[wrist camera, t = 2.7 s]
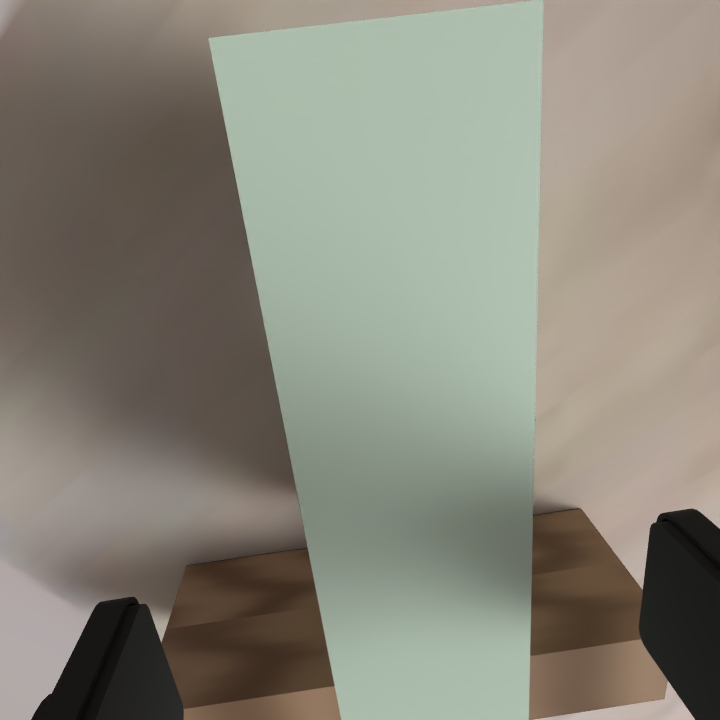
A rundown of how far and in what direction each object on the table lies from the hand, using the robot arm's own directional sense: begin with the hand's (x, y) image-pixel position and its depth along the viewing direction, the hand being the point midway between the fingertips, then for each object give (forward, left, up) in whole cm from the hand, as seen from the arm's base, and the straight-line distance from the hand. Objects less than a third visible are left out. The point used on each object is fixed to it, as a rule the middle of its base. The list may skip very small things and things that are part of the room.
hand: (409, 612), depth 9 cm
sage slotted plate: (0, 0, -15) cm, 15 cm away
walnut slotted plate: (+14, 0, -15) cm, 20 cm away
